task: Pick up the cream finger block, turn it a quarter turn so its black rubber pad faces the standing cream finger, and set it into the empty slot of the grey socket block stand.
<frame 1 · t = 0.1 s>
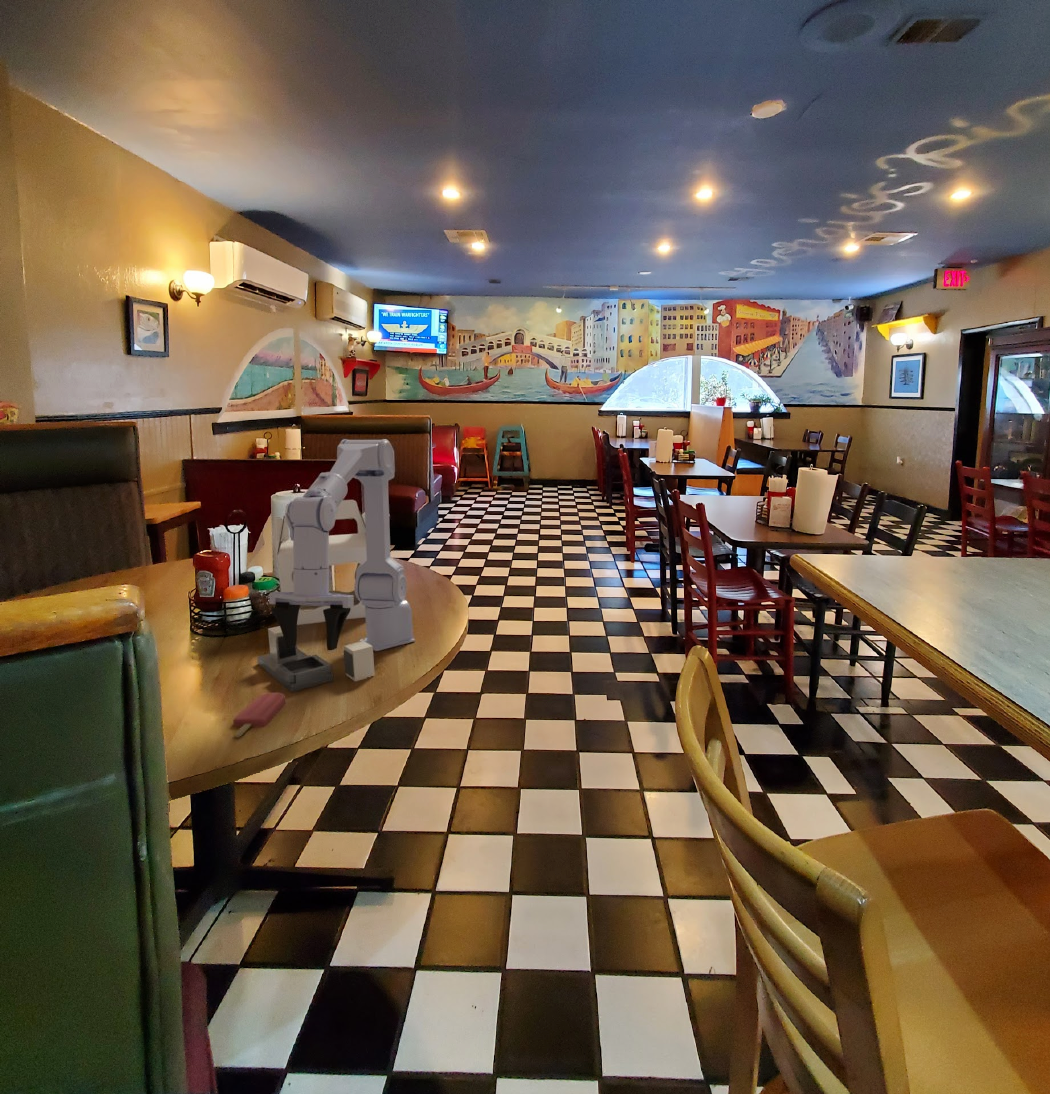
hand: (311, 648, 116), 10 cm above the table, tool pointing down, fingers open, 7 cm apart
gable box: (330, 614, 170), on the table
finger block: (360, 675, 131), on the table
popsicle: (258, 720, 115), on the table
grey socket block stand: (292, 670, 134), on the table
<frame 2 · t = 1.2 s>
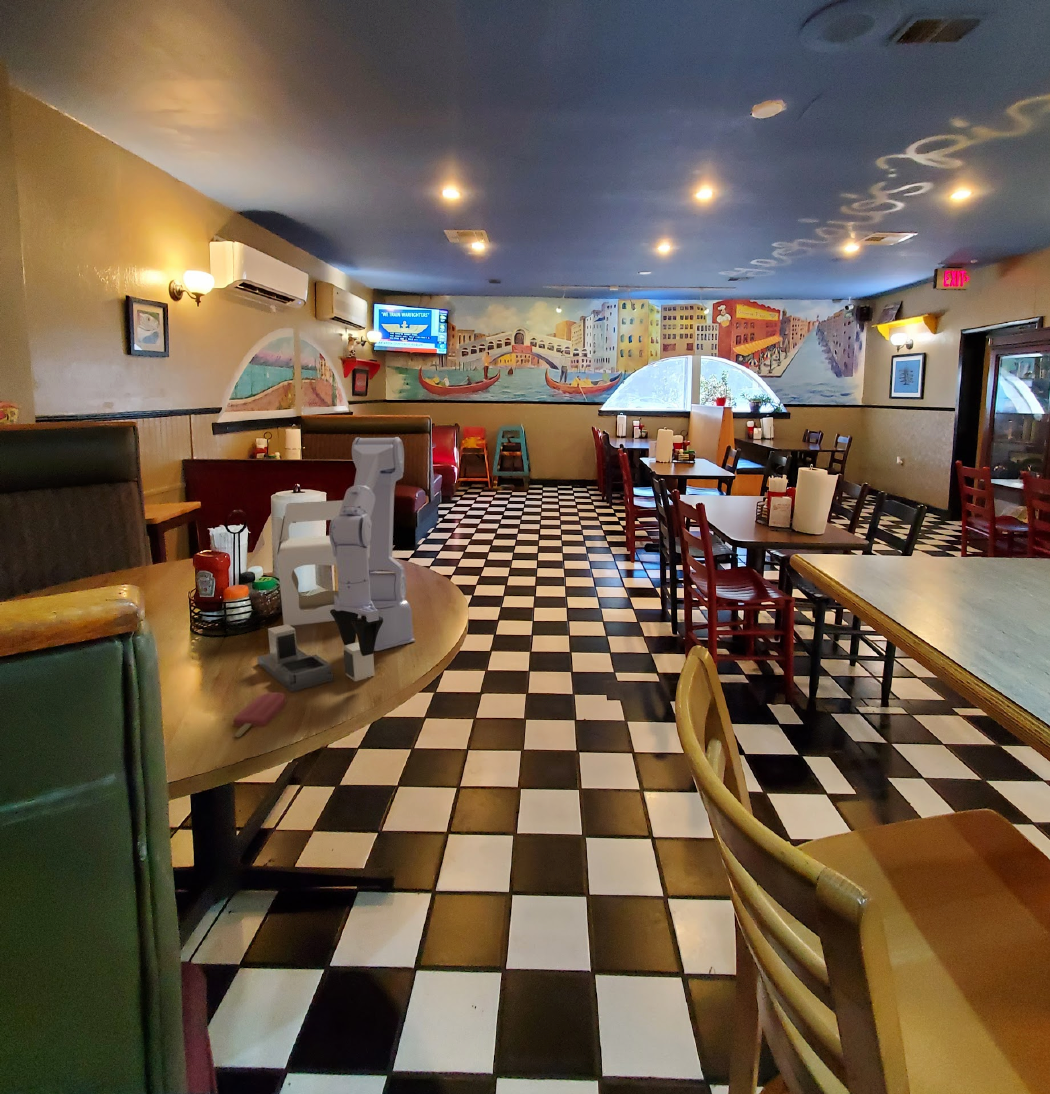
hand: (358, 649, 130), 5 cm above the table, tool pointing down, fingers open, 7 cm apart
nothing on the table moved.
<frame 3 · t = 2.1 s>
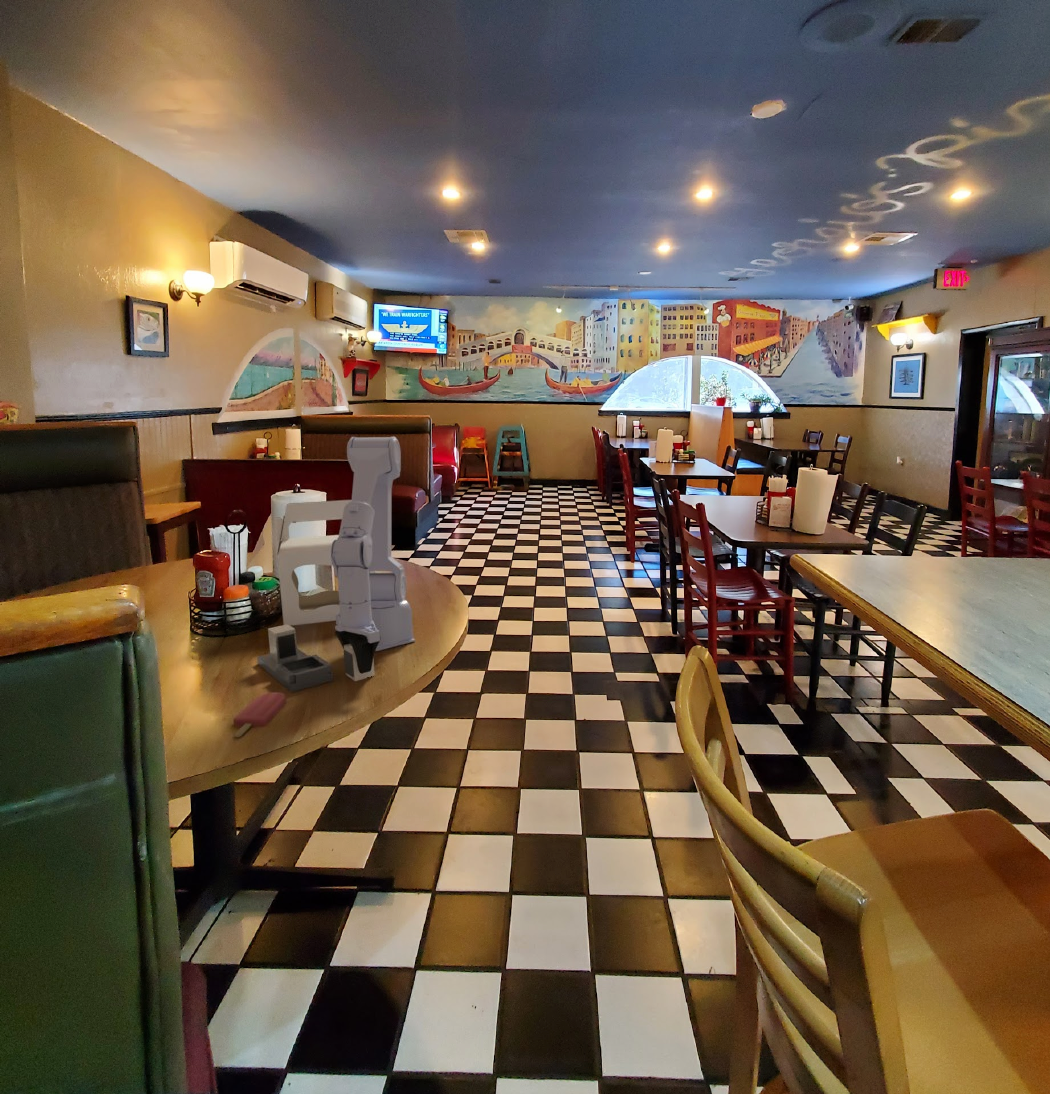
hand: (359, 668, 131), 1 cm above the table, tool pointing down, fingers closed on finger block, 4 cm apart
finger block: (360, 675, 131), on the table, touching gripper
everything else where it was.
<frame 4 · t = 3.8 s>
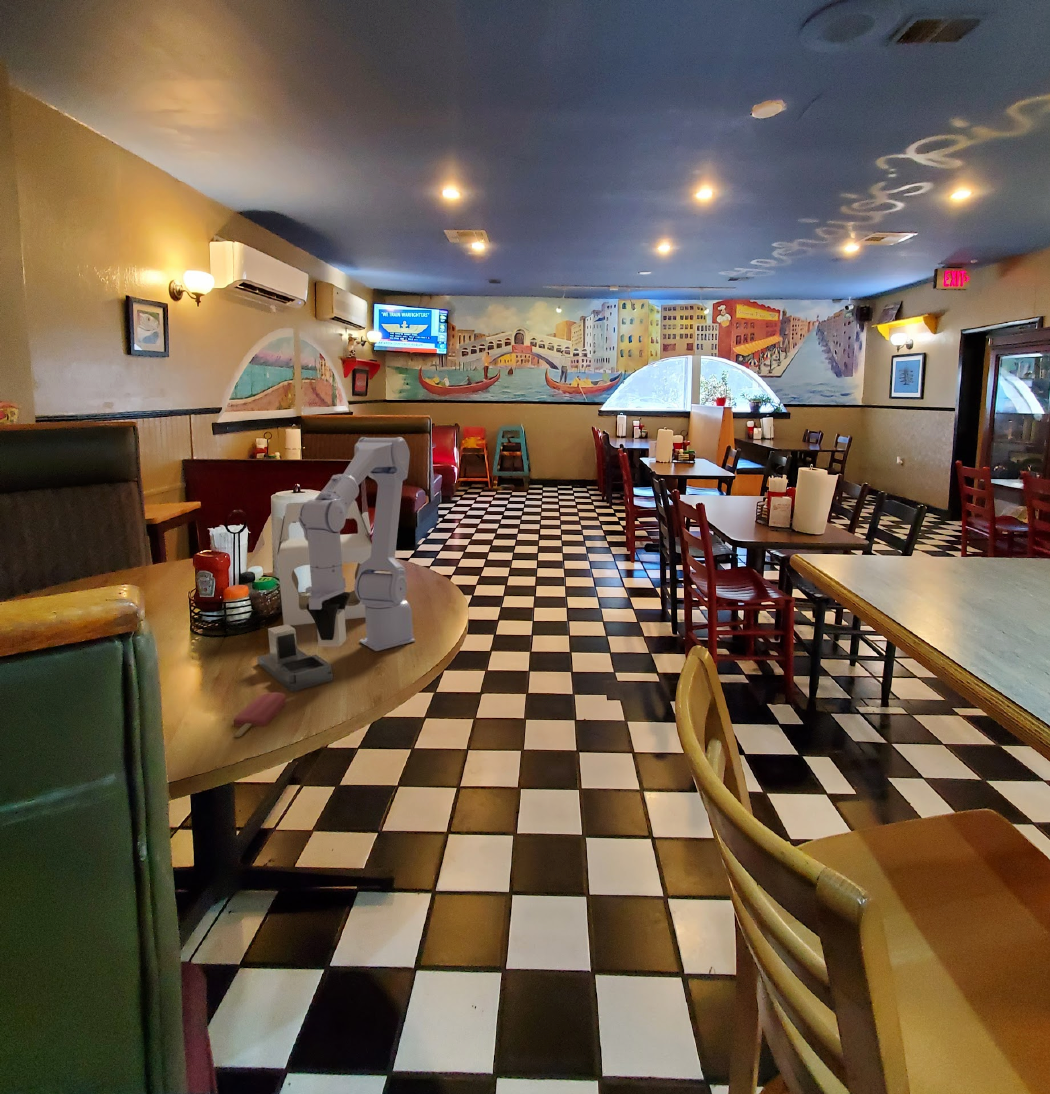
hand: (331, 635, 128), 8 cm above the table, tool pointing down, fingers closed on finger block, 4 cm apart
finger block: (332, 642, 129), point 7 cm above the table, touching gripper
everything else where it was.
when the fingers open (4 cm above the table, at t = 5.4 s): finger block stays where it is, resting on grey socket block stand.
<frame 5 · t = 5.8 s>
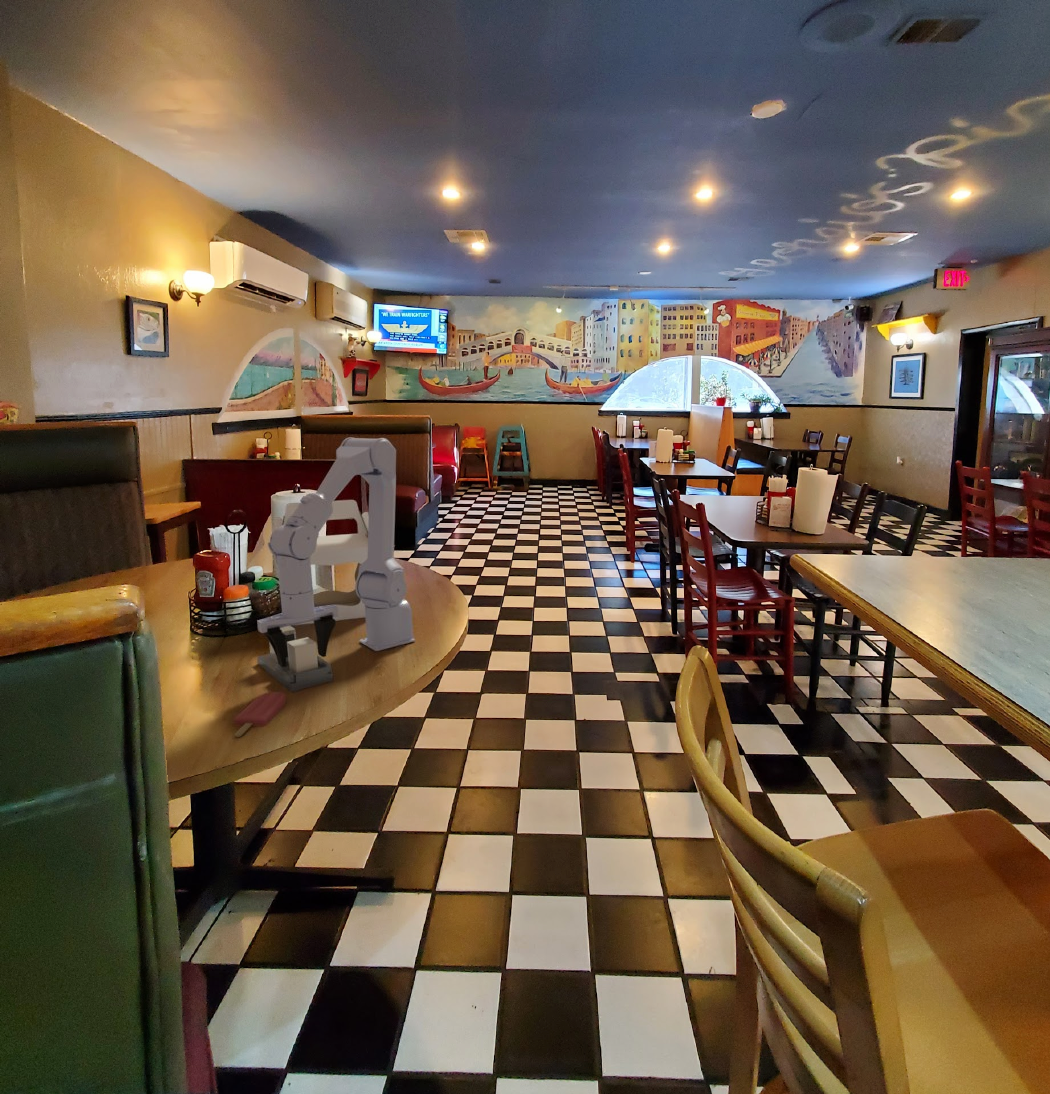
hand: (302, 660, 129), 4 cm above the table, tool pointing down, fingers open, 7 cm apart
finger block: (304, 672, 129), point 1 cm above the table, touching grey socket block stand
everything else where it was.
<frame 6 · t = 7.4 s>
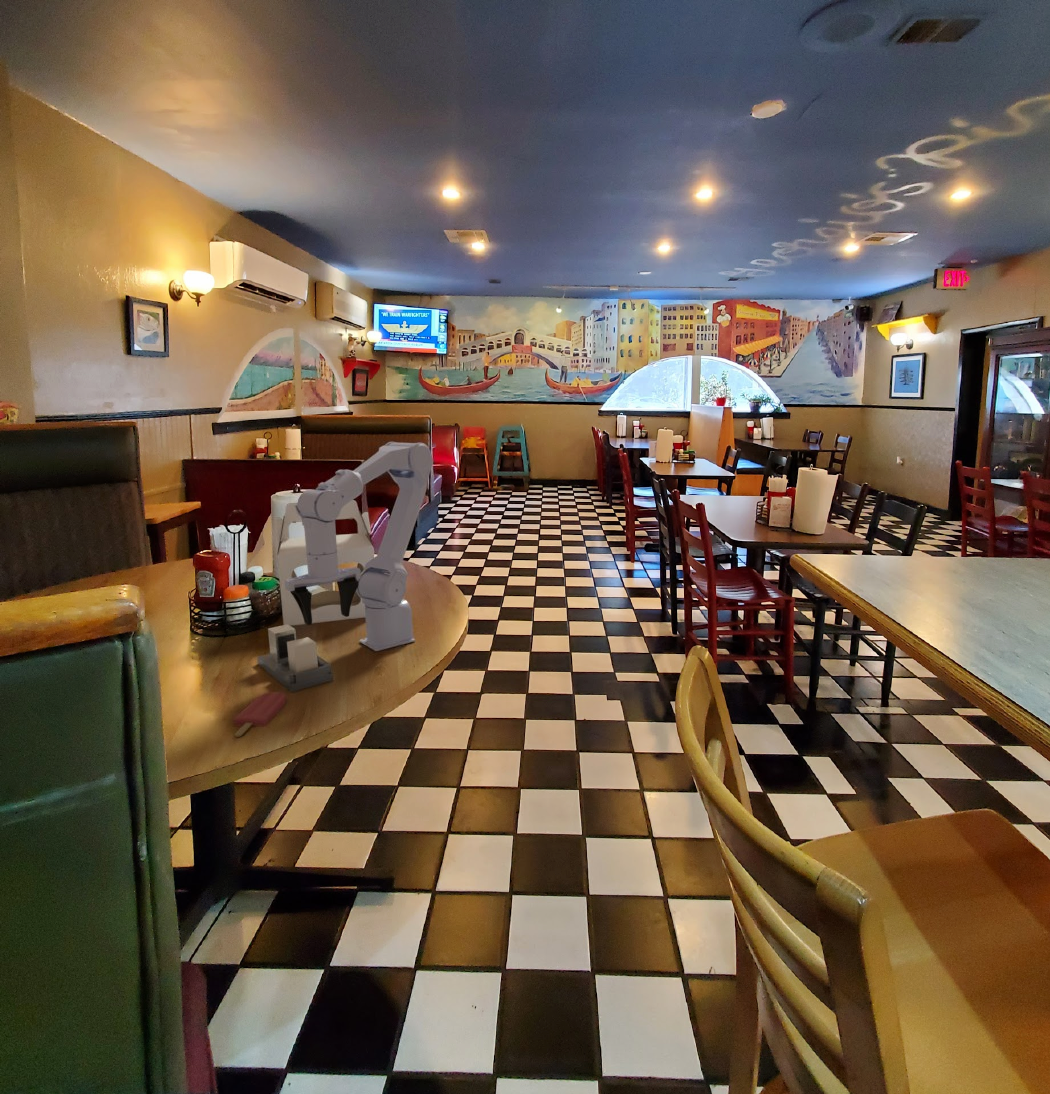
hand: (327, 619, 135), 9 cm above the table, tool pointing down, fingers open, 7 cm apart
nothing on the table moved.
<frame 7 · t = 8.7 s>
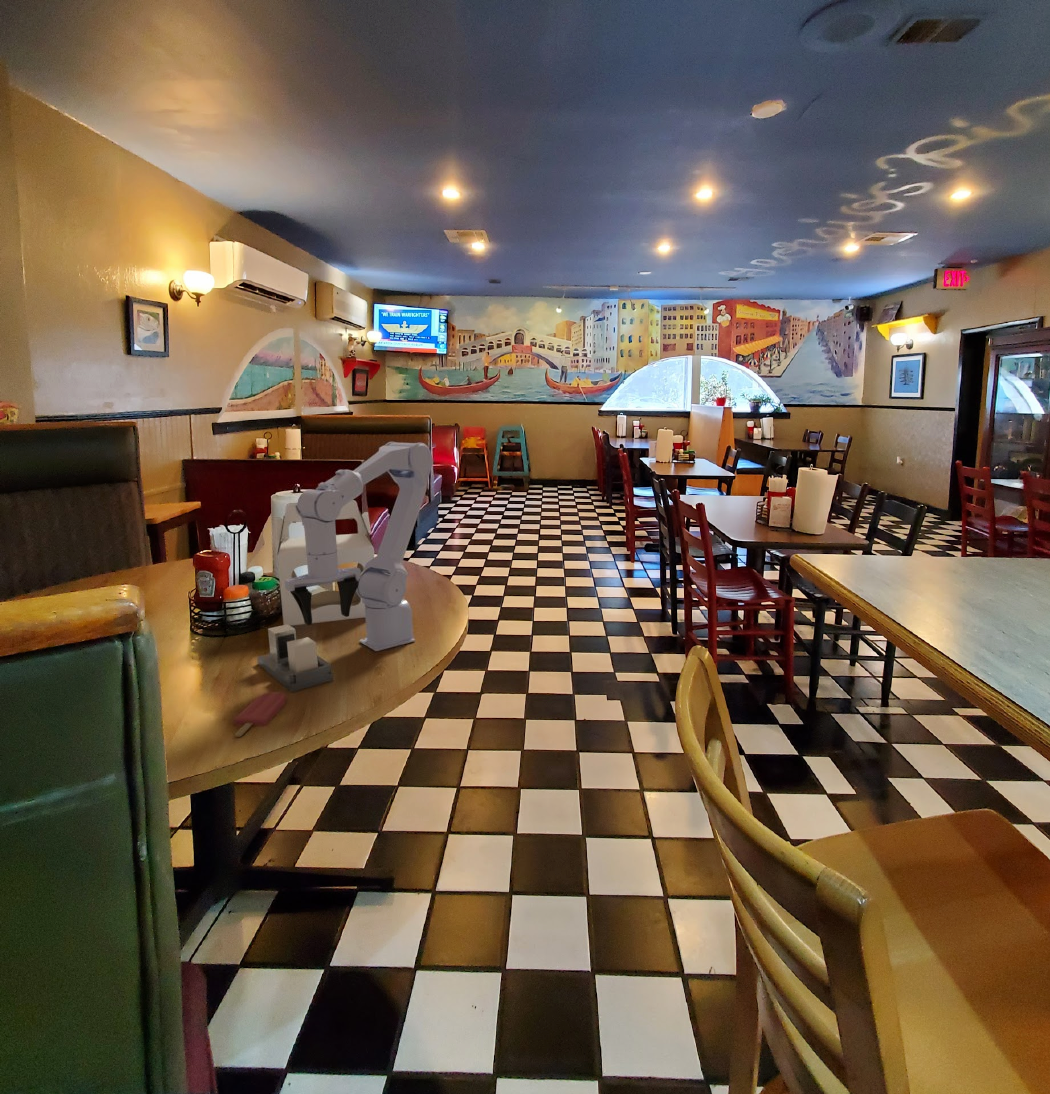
hand: (327, 619, 135), 9 cm above the table, tool pointing down, fingers open, 7 cm apart
nothing on the table moved.
at the end: finger block 0.1 cm from the target spot, point 1.5 cm above the table; finger block tilted 0°; the gripper is holding nothing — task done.
